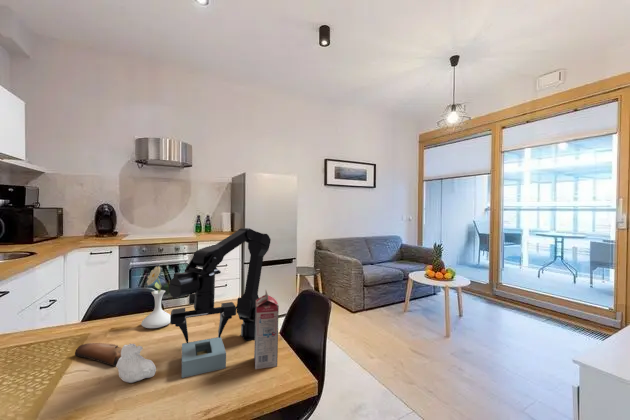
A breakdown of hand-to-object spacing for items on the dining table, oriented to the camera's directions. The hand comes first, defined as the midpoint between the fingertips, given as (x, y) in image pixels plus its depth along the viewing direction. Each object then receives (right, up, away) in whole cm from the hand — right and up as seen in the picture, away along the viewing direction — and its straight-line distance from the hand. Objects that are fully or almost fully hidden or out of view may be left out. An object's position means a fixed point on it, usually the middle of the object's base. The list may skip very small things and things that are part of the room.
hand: (203, 339), depth 84 cm
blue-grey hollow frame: (0, -7, 0) cm, 7 cm away
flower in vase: (-30, -7, +26) cm, 41 cm away
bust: (-16, -7, -9) cm, 19 cm away
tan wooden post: (0, -7, 0) cm, 7 cm away
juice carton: (+19, -8, +1) cm, 21 cm away
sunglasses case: (-33, -7, +3) cm, 33 cm away
